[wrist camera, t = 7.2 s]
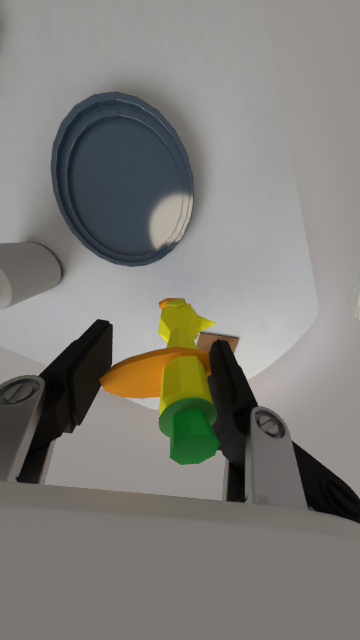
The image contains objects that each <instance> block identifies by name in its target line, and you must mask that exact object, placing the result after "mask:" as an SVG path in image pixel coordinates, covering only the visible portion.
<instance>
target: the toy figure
mask: <svg viewBox="0 0 360 640" xmlns="http://www.w3.org/2000/svg"><path fill="white" fill-rule="evenodd" d="M159 307H160V308H161V309H162V312H161V318H160V323H159V331H158V333H159V334H160V335H161V337H162V338H163V339H164V340H165V341H166V343H167V348H165V349H159V350H154V351H151V352H147V353H144V354H140V355H137V356H133V357H130V358H127V359H125V360H123V361H121V362H119V363H117V364H115V365H113V366H112V367H111V368H110V369H109V370H108V371H107V372H106V373H105V374H103V375H102V376H101V377H100V378H99V381H100V383H101V385H102V387H103V389H104V390H105V391H107V392H110V393H112V394H115V395H118V396H121V397H129V398H149V397H160V408H159V415H160V417H159V428H160V430H161V432H162V433H164V434H165V435H166V436H168V437H170V458H171V459H173V460H174V461H176V462H177V463H179V464H180V465H185V464H199V463H201V462H203V461H204V460H206V459H208V458H210V457H212V456H214V455H215V453H216V451H217V449H218V447H219V445H220V442H219V440H218V438H217V436H216V434H215V433H214V431H213V429H212V427H211V426H212V425H213V424H214V422H215V420H216V417H217V412H216V409H215V407H214V405H213V401H212V397H211V393H210V389H209V384H208V380H207V377H208V376H209V375H210V374H211V368H210V360H209V353H208V351H204V350H198V349H197V347H196V345H195V342H194V340H195V339H197V336H198V333H199V332H201V331H203V330H205V329H206V328H208V327H210V326H212V325H214V324H216V323H215V322H213V321H211V320H208V319H206V318H203V317H201V316H198V315H197V314H196V312H195V311H194V309H193V308H192V306H191V305H190V304H188V303H186V301H185V299H183V298H167V299H164V300H162V301H161V302H159Z"/></svg>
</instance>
